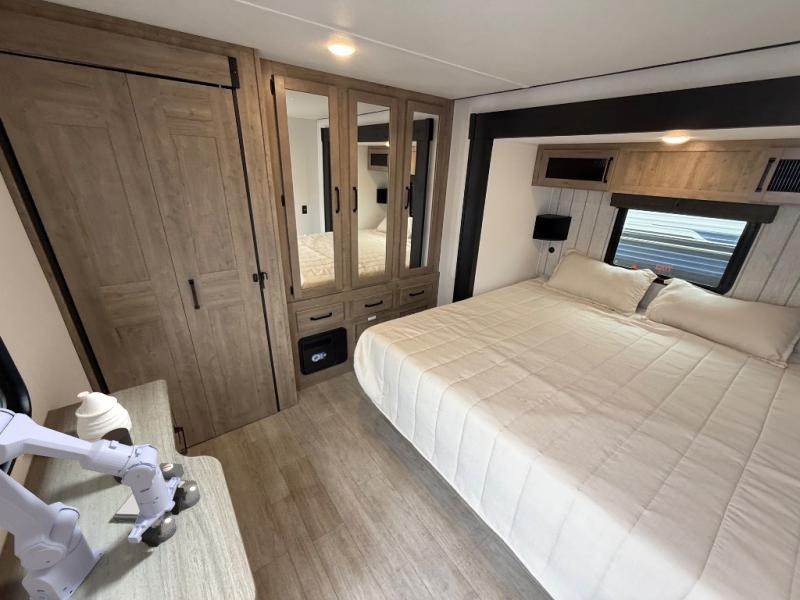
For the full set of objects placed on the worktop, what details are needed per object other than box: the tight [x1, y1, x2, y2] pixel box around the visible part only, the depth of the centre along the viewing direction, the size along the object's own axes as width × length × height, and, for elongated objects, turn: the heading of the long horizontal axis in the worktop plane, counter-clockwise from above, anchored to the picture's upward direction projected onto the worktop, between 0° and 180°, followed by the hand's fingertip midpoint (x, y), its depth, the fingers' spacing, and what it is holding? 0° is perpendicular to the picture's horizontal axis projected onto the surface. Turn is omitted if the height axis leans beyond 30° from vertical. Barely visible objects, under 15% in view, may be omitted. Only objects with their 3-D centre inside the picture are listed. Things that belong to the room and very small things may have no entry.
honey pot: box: [74, 390, 133, 443], centre depth 102 cm, size 13×13×18 cm
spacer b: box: [180, 480, 201, 509], centre depth 85 cm, size 4×4×5 cm
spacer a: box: [150, 511, 178, 543], centre depth 77 cm, size 4×4×5 cm
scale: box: [112, 462, 189, 522], centre depth 86 cm, size 14×12×4 cm
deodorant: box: [100, 428, 134, 484], centre depth 89 cm, size 6×6×15 cm
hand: (165, 528), depth 78 cm, fingers open, 7 cm apart
